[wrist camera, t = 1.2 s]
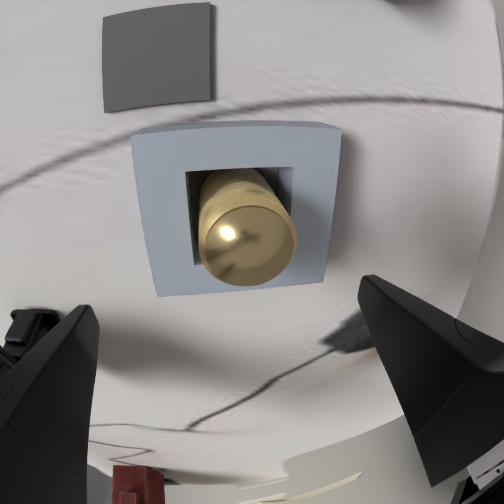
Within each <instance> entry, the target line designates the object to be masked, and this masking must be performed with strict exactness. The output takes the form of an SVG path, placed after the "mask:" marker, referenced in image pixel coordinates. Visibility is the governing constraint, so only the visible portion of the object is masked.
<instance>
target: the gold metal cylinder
mask: <svg viewBox="0 0 504 504" xmlns="http://www.w3.org/2000/svg"><path fill="white" fill-rule="evenodd" d="M296 248H297V231H296V228H295V225H294V223H293V221H292V219H291V218H290V216H289V215H288V213H287V212H286V210H285V209H284V207H283V206H282V204H281V203H280V201H279V199H278V198H277V196H276V195H275V193H274V192H273V190H272V189H271V187H270V186H269V185H268V183H267V182H266V180H265V179H264V177H263V176H262V175H261V174H260V173H259V172H258V171H257V170H255V169H254V168H233V169H216V170H215V171H213V172H212V173H211V174H210V175H209V176H208V177H207V178H206V180H205V181H204V183H203V185H202V187H201V191H200V202H199V254H200V258H201V260H202V263H203V265H204V266H205V268H206V269H207V270H208V272H209V273H210V274H211V275H213V276H214V277H215V278H217V279H218V280H220V281H222V282H224V283H227V284H230V285H234V286H244V287H246V286H256V285H260V284H263V283H266V282H268V281H270V280H272V279H273V278H275V277H276V276H278V275H279V274H280V273H282V272H283V271H284V270H285V269H286V267H287V266H288V265H289V264H290V262H291V260H292V259H293V257H294V254H295V251H296Z"/></svg>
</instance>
